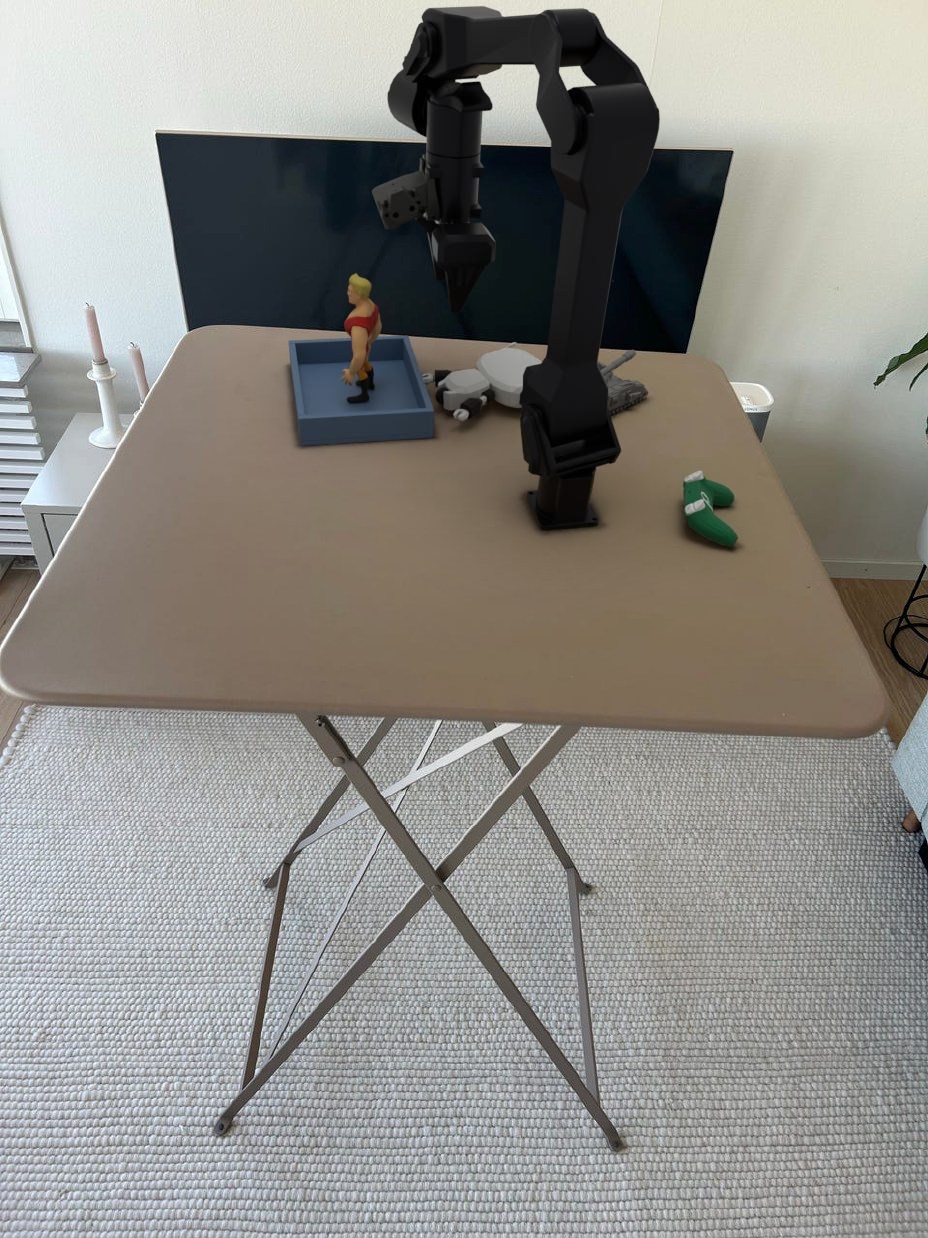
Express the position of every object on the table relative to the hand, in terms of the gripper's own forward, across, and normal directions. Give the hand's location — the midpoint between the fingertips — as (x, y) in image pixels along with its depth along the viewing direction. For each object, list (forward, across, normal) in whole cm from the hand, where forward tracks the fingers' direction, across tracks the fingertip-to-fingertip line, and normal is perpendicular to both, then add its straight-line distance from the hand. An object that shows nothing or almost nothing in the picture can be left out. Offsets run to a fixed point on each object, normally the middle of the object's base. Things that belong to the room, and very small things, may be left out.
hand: (447, 295), depth 103 cm
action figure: (+13, 0, -10) cm, 16 cm away
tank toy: (+13, +3, +19) cm, 24 cm away
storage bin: (+13, 0, -11) cm, 17 cm away
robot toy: (+13, +2, +5) cm, 14 cm away
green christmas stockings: (+13, +30, +23) cm, 40 cm away
